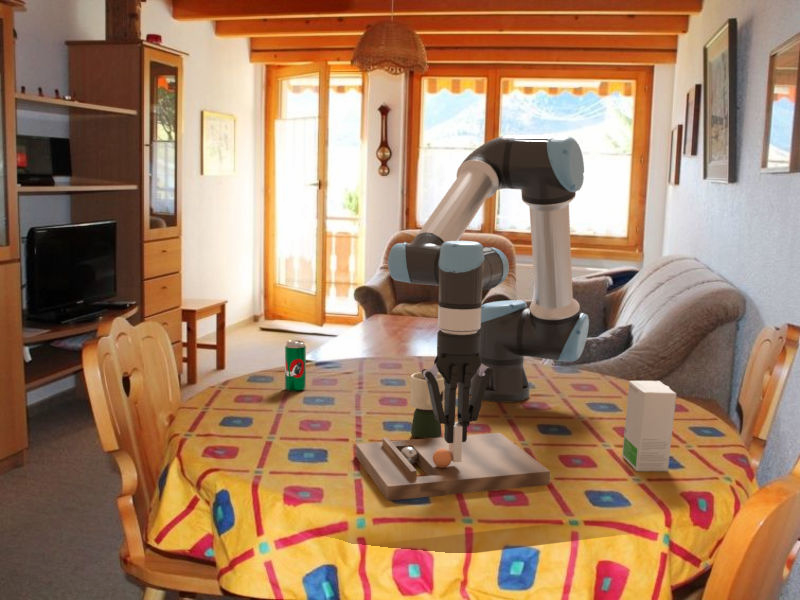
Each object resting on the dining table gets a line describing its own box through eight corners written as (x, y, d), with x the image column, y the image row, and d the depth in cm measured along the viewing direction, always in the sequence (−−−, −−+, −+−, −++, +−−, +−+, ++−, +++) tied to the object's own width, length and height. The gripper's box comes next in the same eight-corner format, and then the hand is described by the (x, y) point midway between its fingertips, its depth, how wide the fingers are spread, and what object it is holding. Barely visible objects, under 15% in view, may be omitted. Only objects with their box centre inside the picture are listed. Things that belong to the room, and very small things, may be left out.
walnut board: (499, 444, 170) (500, 425, 169) (549, 484, 149) (550, 463, 148) (355, 456, 161) (356, 436, 160) (387, 500, 140) (388, 477, 139)
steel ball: (400, 443, 158) (395, 460, 158) (405, 448, 155) (400, 466, 155) (416, 445, 159) (412, 462, 159) (422, 451, 156) (417, 469, 156)
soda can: (309, 388, 208) (310, 341, 206) (296, 393, 204) (296, 345, 202) (293, 385, 211) (294, 338, 209) (280, 389, 206) (280, 342, 204)
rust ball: (448, 462, 151) (447, 444, 151) (454, 469, 148) (454, 451, 147) (430, 465, 150) (430, 447, 150) (436, 471, 147) (435, 453, 147)
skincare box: (621, 456, 164) (626, 379, 162) (654, 456, 165) (660, 379, 162) (637, 472, 156) (642, 391, 153) (671, 472, 156) (677, 391, 154)
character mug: (447, 445, 168) (449, 382, 166) (412, 446, 168) (414, 383, 165) (438, 428, 179) (440, 369, 177) (405, 428, 178) (407, 369, 176)
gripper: (484, 324, 151) (480, 449, 155) (416, 327, 147) (413, 455, 151) (502, 332, 144) (496, 463, 148) (431, 335, 140) (427, 469, 144)
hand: (454, 459), depth 150 cm, fingers closed
